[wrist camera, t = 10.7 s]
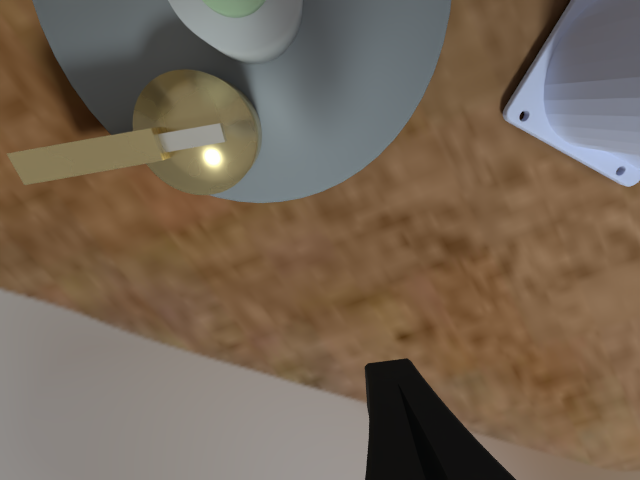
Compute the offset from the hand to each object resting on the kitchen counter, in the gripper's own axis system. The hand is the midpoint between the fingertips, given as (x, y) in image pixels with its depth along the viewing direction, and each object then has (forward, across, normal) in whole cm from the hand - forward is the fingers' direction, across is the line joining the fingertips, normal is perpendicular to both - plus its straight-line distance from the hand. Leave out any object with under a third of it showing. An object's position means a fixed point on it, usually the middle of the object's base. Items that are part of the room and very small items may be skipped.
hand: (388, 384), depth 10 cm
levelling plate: (+10, +3, -12) cm, 16 cm away
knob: (+9, +8, -7) cm, 14 cm away
